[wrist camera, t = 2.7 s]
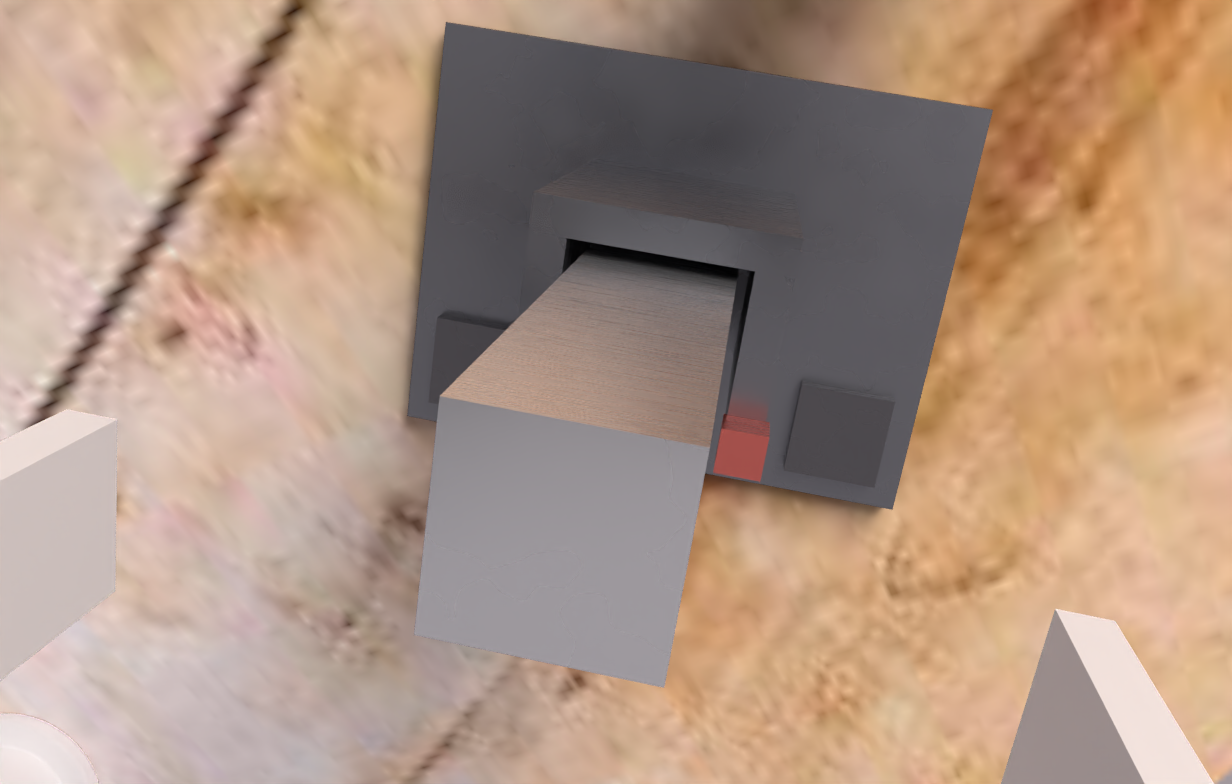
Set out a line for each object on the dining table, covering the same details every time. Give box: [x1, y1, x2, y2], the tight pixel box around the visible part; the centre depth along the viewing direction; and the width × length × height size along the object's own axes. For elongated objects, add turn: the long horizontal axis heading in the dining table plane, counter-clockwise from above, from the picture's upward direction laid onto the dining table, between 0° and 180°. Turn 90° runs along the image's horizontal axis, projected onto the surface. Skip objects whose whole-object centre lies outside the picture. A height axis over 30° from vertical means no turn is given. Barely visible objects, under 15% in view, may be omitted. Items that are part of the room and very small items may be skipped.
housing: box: [407, 22, 993, 509], centre depth 32 cm, size 18×14×12 cm
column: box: [414, 243, 739, 688], centre depth 27 cm, size 4×5×22 cm
